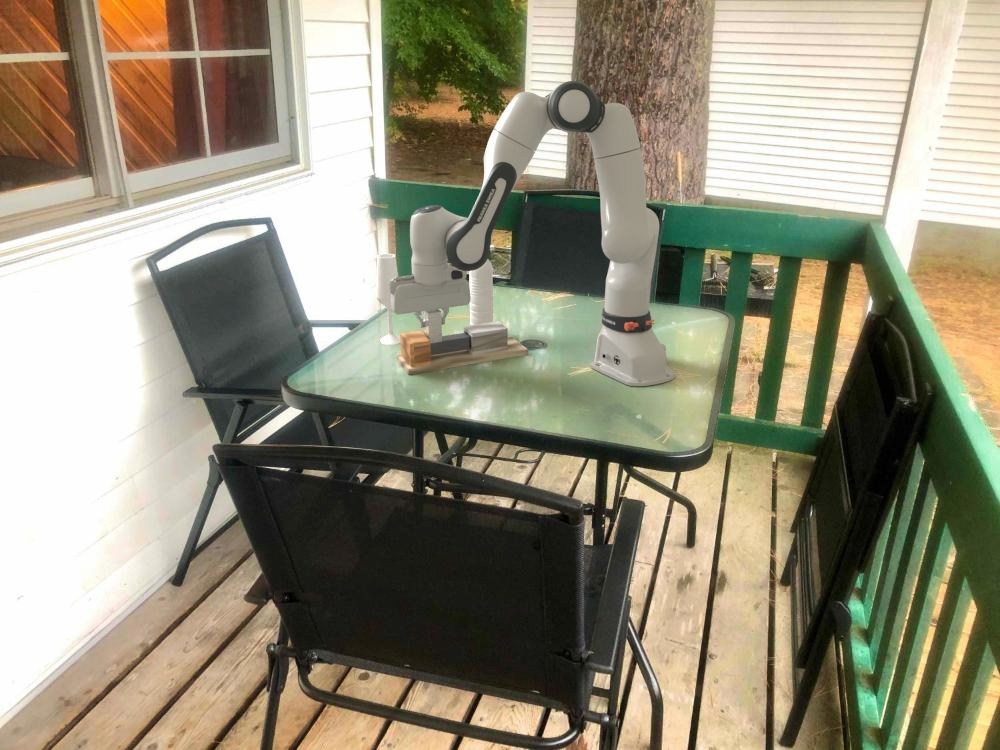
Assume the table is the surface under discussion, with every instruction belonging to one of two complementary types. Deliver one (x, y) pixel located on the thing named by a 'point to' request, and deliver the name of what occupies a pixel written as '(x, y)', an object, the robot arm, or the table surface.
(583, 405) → the table surface
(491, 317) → the water bottle
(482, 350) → the base
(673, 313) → the table surface
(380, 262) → the champagne flute
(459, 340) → the slider with upright handle
